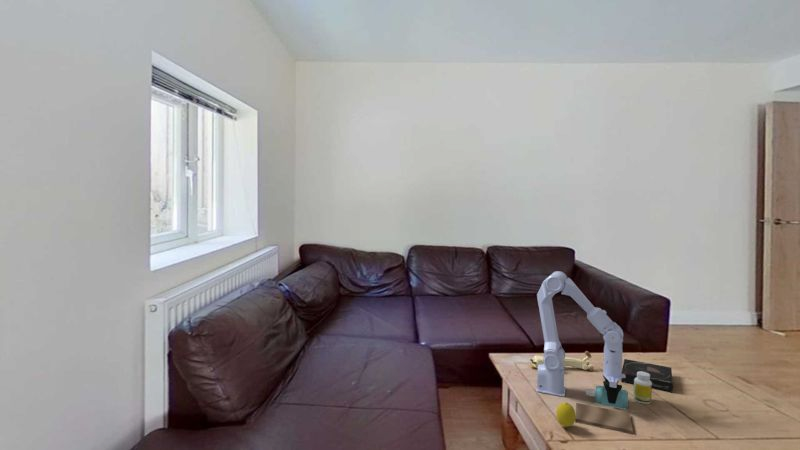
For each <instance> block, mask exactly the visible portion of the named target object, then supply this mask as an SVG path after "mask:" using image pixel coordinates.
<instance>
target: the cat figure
mask: <svg viewBox="0 0 800 450" xmlns="http://www.w3.org/2000/svg"><path fill="white" fill-rule="evenodd" d="M584 355H585V356H586V357H584V358H583V359H579V358H574V357H567V356H565V359H564V360H563V361H562V363H563V365H564V367H565V366H566V367H571V368H578V369H579V370H580V369H581V370H582V369H583V370H585V371H587V370H589V372H593V371H594V365H593V364H592V363H591V364H590V359H592V355H591V353H590V352H589V351H588V350H585V351H584ZM543 357H544V355H538V354H537V355H534V356H533V357H531V358H530V360H529V361H530V362H528V364H529V366H530V367H531V368H536V369H537V370H538V365H539V364H541V365H543V364H544V363H543Z"/></svg>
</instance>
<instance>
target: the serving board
mask: <svg viewBox="0 0 800 450" xmlns="http://www.w3.org/2000/svg"><path fill="white" fill-rule="evenodd" d="M630 414H631V413H629V412H625V411H621V410H614V409H611V408H604V407H601V406H594V405H589V404H584V403H578V402H576V404H575V422H574V423H581V424H584V425H589V426H593V427H599V428H603V429H607V430H612V431H617V432H623V433H626V434H630V435H633V434H634V433H633V431H634V430H633V426H632V420H631V415H630Z"/></svg>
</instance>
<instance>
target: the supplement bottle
mask: <svg viewBox="0 0 800 450" xmlns="http://www.w3.org/2000/svg"><path fill="white" fill-rule="evenodd" d="M649 379H650V374H649V373H646V372H642V371H639V372H637V377H636V378H635V379H634V385H633V400H634V401H635V402H637V403H640V404H645V405H649V404H651V403H652V390H653V389H652V382H651V381H650V380H649Z"/></svg>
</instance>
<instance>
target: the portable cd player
mask: <svg viewBox="0 0 800 450" xmlns="http://www.w3.org/2000/svg"><path fill="white" fill-rule="evenodd" d="M639 371H642V372H646V373H649V374H650V379H649V380H650V381H651V382H652V390H657V391H662V392H666V393H670V394H673V384H674V383H673V373H672V372H673V371H672V367H670V366H665V365H659V364H653V363H649V362H645V361H644V362H643V361H637V360H631V359H627V358H624V360H623V363H622V374H625V376H626V378H621V379H620V380H621V381H620V382H621V383H623V384H626V385H627V384H629V385H632V386H634V379H635V378H636V377H637V372H639Z"/></svg>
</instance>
